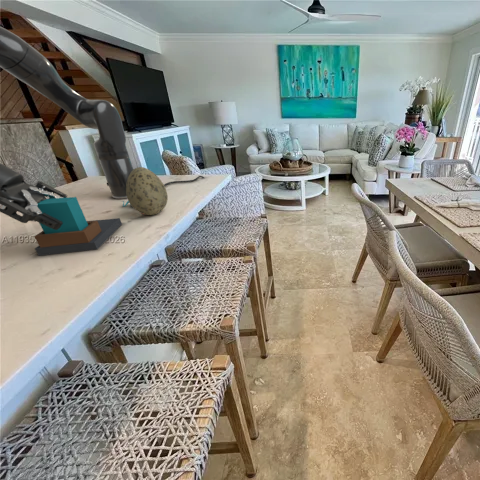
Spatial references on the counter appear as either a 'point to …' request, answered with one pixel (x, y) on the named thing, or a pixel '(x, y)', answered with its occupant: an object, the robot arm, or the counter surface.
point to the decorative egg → (146, 191)
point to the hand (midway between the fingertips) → (70, 219)
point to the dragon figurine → (126, 203)
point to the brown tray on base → (77, 238)
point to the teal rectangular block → (63, 214)
